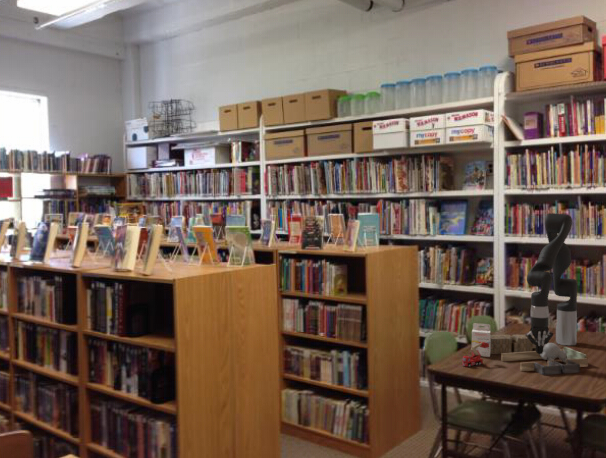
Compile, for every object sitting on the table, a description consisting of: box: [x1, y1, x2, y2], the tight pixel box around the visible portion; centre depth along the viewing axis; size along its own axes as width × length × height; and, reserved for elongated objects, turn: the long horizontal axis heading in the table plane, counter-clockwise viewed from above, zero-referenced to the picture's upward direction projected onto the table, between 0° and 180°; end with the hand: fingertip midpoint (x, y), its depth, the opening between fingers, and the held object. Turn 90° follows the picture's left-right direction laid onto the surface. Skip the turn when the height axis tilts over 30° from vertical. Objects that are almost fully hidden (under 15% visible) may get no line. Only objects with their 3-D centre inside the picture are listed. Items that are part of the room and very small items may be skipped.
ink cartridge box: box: [471, 322, 492, 358], centre depth 281 cm, size 9×5×15 cm, turn 69°
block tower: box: [490, 333, 545, 355], centre depth 287 cm, size 8×8×29 cm
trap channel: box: [500, 345, 589, 376], centre depth 262 cm, size 24×32×5 cm
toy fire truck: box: [461, 342, 489, 368], centre depth 266 cm, size 3×14×10 cm, turn 117°
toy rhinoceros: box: [540, 342, 570, 364], centre depth 268 cm, size 7×12×8 cm, turn 73°
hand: (539, 353), depth 265 cm, fingers closed
